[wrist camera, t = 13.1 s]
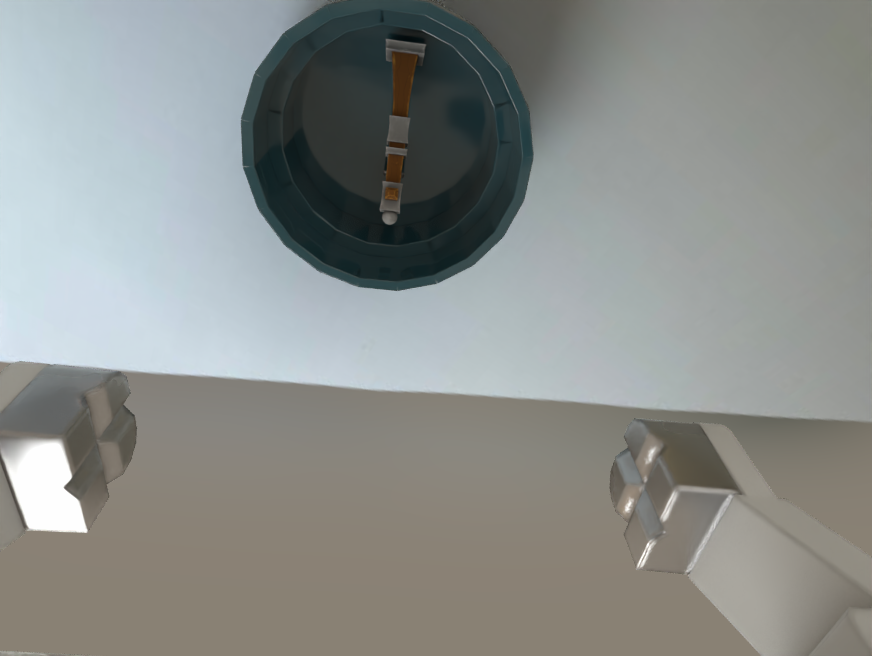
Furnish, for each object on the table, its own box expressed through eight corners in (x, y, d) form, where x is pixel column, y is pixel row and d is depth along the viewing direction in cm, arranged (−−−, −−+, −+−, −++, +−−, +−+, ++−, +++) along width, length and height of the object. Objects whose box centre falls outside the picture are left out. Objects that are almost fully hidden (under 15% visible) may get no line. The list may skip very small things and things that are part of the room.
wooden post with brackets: (371, 226, 31) (369, 221, 26) (385, 69, 30) (385, 37, 25) (405, 229, 31) (408, 225, 26) (420, 74, 30) (426, 42, 25)
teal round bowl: (534, 13, 27) (563, 21, 22) (488, 251, 33) (502, 301, 28) (269, -27, 26) (234, -28, 21) (273, 228, 32) (246, 276, 27)
